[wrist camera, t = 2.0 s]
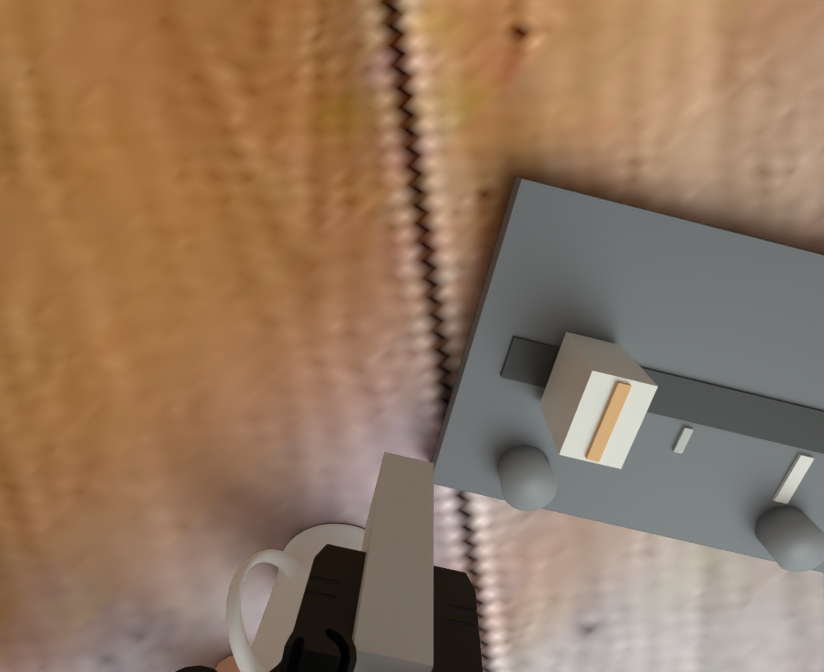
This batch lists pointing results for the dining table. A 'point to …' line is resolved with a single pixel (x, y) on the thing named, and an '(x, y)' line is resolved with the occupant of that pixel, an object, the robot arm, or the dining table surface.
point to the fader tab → (595, 400)
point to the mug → (281, 594)
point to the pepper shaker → (227, 665)
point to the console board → (651, 375)
